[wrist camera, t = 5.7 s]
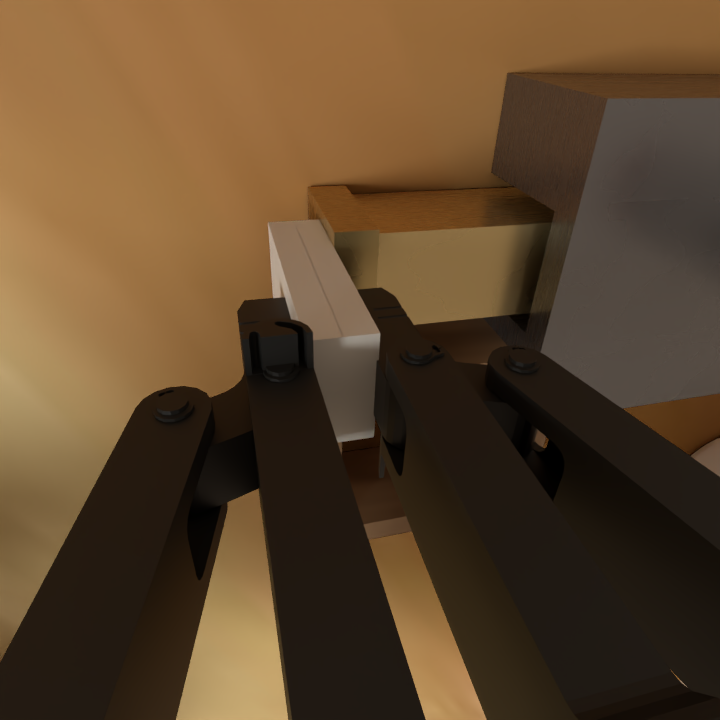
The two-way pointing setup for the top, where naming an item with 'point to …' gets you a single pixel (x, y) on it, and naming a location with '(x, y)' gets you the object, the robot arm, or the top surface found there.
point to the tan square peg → (439, 247)
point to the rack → (370, 491)
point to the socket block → (621, 228)
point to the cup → (709, 456)
